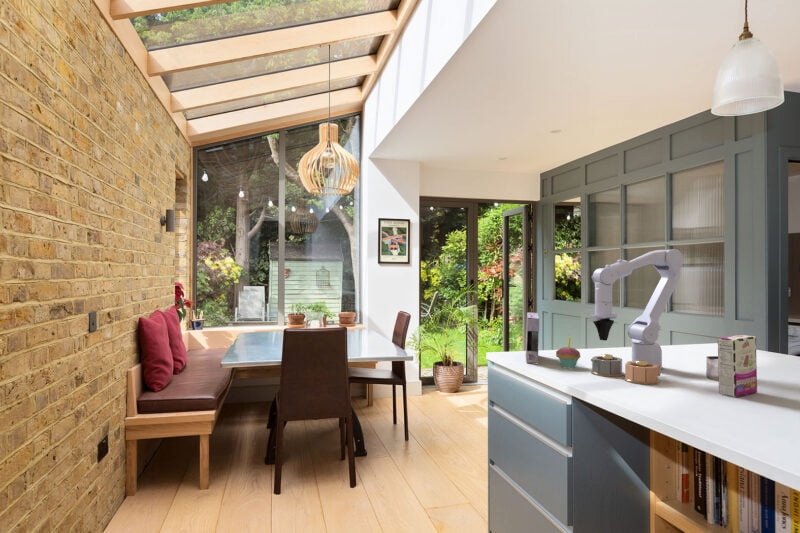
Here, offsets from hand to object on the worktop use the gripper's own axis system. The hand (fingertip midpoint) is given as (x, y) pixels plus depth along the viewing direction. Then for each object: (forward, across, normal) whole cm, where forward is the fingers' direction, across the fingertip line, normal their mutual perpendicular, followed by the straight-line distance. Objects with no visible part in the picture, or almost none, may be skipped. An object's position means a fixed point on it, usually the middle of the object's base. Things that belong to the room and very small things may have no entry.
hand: (603, 340), depth 177 cm
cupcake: (+11, -6, +10) cm, 16 cm away
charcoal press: (+10, -5, -4) cm, 12 cm away
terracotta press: (+10, -7, -17) cm, 21 cm away
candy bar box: (+10, -1, -42) cm, 43 cm away
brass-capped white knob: (+9, -7, -17) cm, 20 cm away
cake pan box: (+11, -4, +28) cm, 30 cm away
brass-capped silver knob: (+9, -5, -4) cm, 11 cm away
